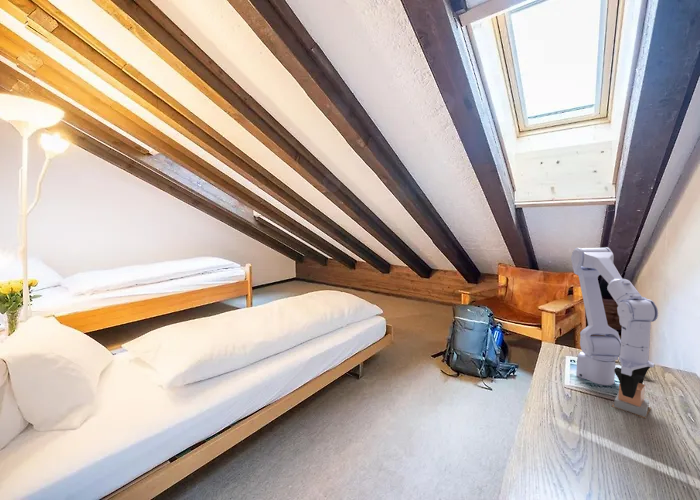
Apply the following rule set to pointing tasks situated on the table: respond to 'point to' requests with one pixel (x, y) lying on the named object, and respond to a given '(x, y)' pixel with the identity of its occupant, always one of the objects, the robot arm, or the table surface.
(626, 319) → the robot arm
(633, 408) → the slate slab
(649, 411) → the walnut slab
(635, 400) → the terracotta block
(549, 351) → the table surface
